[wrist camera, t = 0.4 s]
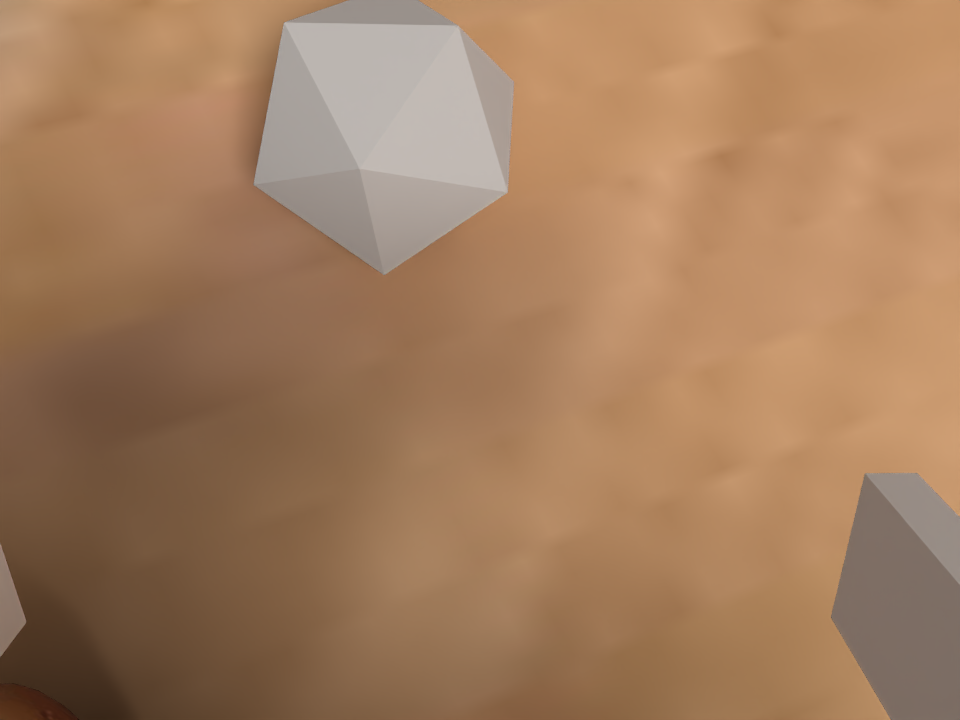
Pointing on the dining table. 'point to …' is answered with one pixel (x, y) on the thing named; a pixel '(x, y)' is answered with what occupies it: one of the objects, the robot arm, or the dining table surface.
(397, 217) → the die
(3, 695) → the butternut squash
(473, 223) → the dining table surface
